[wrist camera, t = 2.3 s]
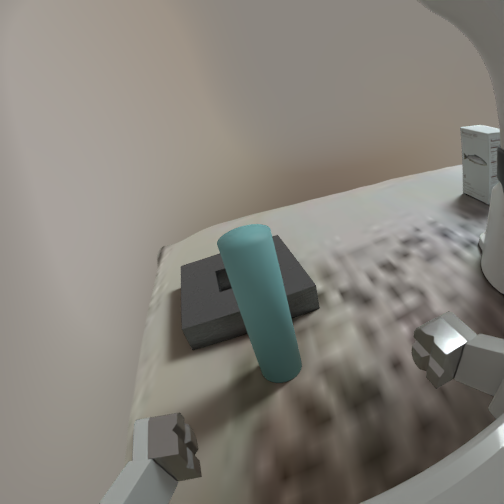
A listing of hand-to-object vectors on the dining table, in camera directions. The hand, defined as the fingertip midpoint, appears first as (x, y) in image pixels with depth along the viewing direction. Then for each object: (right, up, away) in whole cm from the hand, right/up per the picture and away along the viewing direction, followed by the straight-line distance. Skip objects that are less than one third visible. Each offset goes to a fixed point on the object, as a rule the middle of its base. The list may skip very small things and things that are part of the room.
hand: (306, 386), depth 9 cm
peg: (+1, -6, +17) cm, 18 cm away
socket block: (-3, -1, +29) cm, 29 cm away
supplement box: (+41, +14, +35) cm, 56 cm away
